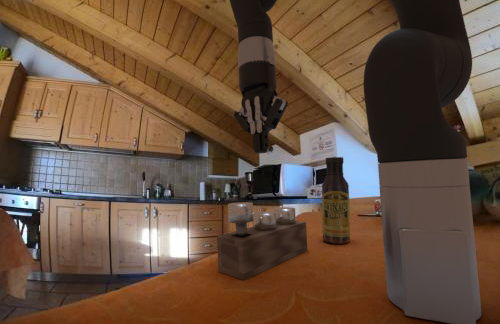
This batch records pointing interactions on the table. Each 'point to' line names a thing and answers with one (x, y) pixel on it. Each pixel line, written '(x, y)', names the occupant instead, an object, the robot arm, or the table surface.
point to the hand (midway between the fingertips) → (261, 152)
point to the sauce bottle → (335, 203)
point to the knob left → (240, 216)
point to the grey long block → (260, 249)
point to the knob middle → (265, 221)
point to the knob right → (285, 215)
